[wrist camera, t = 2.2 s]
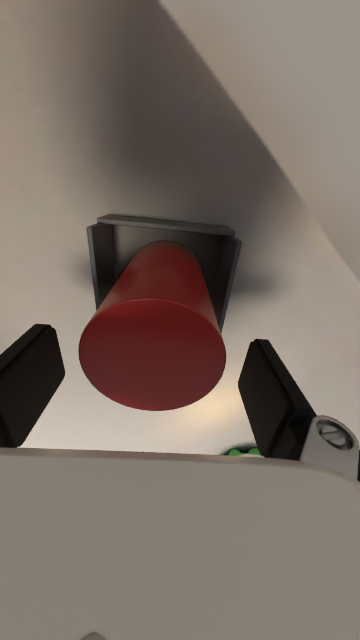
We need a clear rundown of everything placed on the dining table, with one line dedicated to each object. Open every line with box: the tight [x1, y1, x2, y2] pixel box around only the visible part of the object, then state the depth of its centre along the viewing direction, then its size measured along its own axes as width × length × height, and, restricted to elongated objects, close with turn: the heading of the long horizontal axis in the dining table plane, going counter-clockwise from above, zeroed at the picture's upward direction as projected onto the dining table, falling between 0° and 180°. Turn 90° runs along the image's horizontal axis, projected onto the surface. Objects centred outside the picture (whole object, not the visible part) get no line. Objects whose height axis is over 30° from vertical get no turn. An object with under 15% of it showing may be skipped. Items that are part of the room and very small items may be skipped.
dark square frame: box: [87, 215, 242, 332], centre depth 17 cm, size 9×9×4 cm
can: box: [79, 240, 226, 411], centre depth 14 cm, size 6×6×11 cm
